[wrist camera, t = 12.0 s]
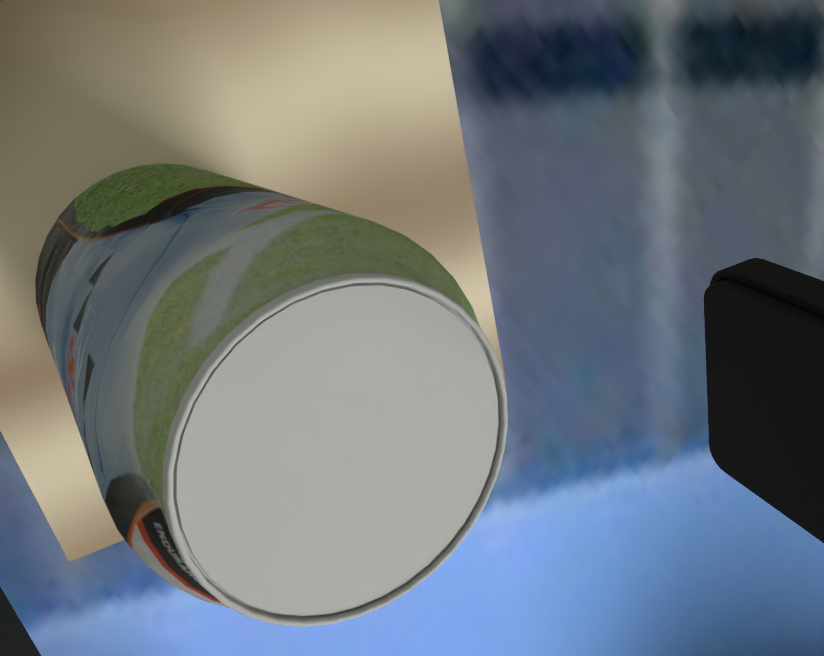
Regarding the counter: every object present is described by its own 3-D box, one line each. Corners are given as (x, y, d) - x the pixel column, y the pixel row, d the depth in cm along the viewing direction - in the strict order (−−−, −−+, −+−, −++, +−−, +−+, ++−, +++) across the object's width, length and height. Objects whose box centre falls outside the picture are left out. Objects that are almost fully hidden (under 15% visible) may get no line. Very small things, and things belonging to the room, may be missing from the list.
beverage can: (-20, 269, 18) (-162, 592, 8) (215, 68, 19) (377, 123, 8) (169, 428, 21) (247, 810, 11) (368, 254, 22) (624, 462, 11)
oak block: (-140, 40, 20) (-203, 44, 16) (360, -69, 24) (422, -91, 19) (71, 472, 26) (69, 561, 22) (444, 333, 30) (506, 386, 25)
